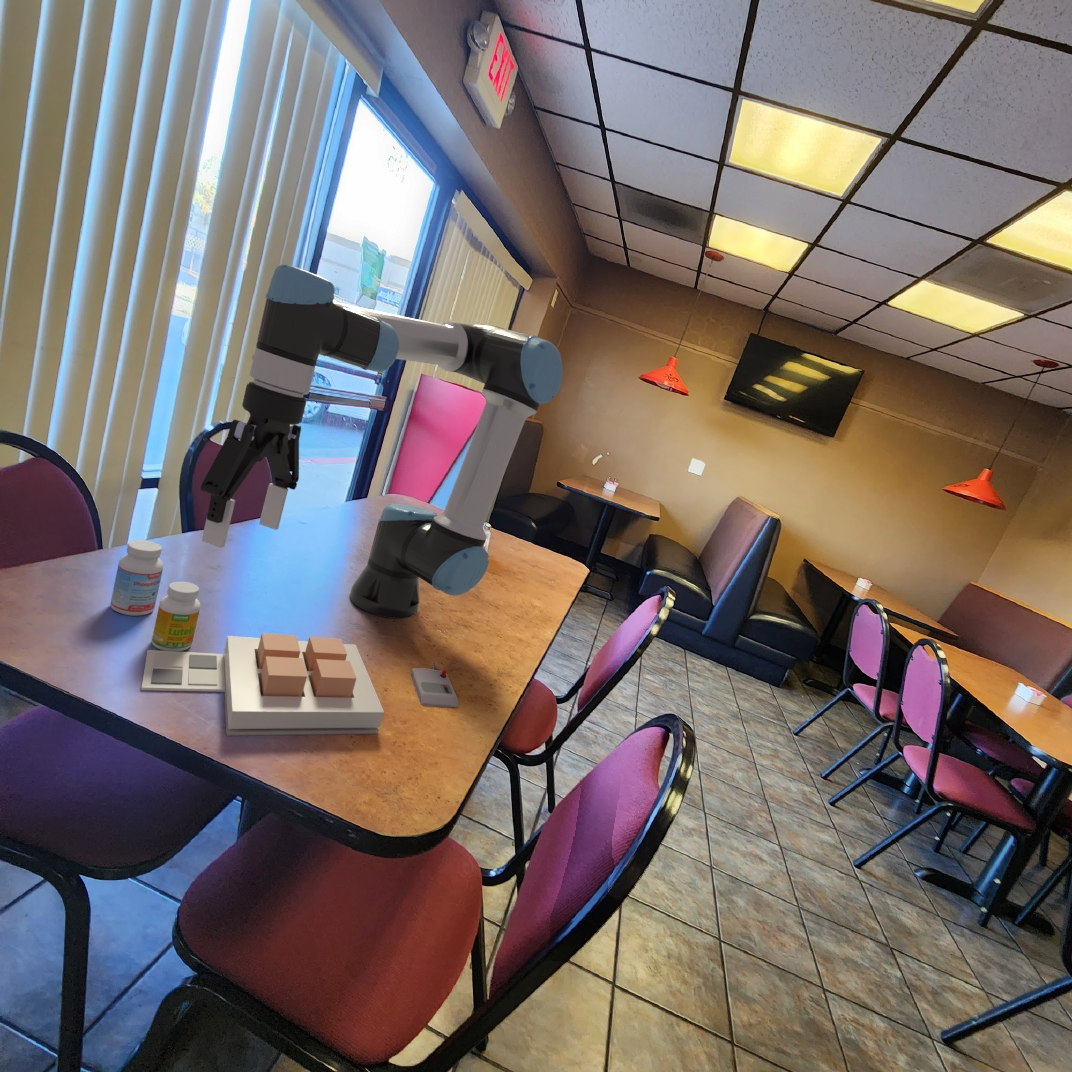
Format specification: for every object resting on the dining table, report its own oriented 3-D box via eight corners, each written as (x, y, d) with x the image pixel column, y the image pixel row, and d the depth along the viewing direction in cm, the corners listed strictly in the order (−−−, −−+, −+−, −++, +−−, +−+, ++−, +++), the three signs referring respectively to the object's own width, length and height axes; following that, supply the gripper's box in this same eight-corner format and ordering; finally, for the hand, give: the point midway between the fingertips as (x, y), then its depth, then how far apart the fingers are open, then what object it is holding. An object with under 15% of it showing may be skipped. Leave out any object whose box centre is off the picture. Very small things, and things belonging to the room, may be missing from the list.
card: (222, 656, 91) (223, 652, 91) (224, 692, 83) (225, 688, 83) (147, 652, 86) (148, 648, 86) (141, 690, 78) (141, 686, 78)
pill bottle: (132, 620, 93) (145, 555, 90) (100, 606, 93) (112, 541, 91) (163, 610, 98) (176, 548, 96) (132, 597, 99) (144, 535, 97)
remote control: (422, 714, 95) (427, 698, 95) (405, 665, 109) (409, 650, 108) (459, 717, 98) (465, 702, 98) (438, 668, 112) (443, 655, 111)
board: (350, 662, 102) (355, 644, 101) (377, 733, 86) (384, 712, 85) (222, 656, 91) (227, 635, 91) (226, 735, 75) (232, 711, 74)
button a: (296, 678, 87) (302, 658, 86) (301, 697, 82) (307, 676, 82) (260, 677, 84) (265, 656, 83) (263, 696, 80) (268, 675, 79)
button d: (335, 657, 96) (341, 638, 95) (341, 673, 92) (347, 654, 91) (304, 655, 93) (309, 636, 93) (308, 671, 89) (314, 652, 89)
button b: (291, 654, 92) (296, 635, 92) (295, 671, 88) (300, 651, 87) (256, 652, 90) (261, 632, 89) (259, 669, 86) (264, 649, 85)
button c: (344, 680, 90) (349, 660, 90) (350, 698, 86) (356, 678, 86) (310, 678, 88) (316, 659, 87) (315, 697, 84) (321, 677, 83)
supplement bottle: (162, 655, 86) (175, 596, 85) (144, 638, 89) (156, 581, 87) (198, 648, 91) (211, 592, 89) (180, 633, 94) (192, 578, 92)
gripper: (297, 385, 91) (265, 513, 95) (190, 370, 66) (154, 542, 71) (342, 401, 91) (308, 528, 95) (252, 392, 66) (212, 563, 70)
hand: (242, 534), depth 83 cm, fingers open, 13 cm apart
